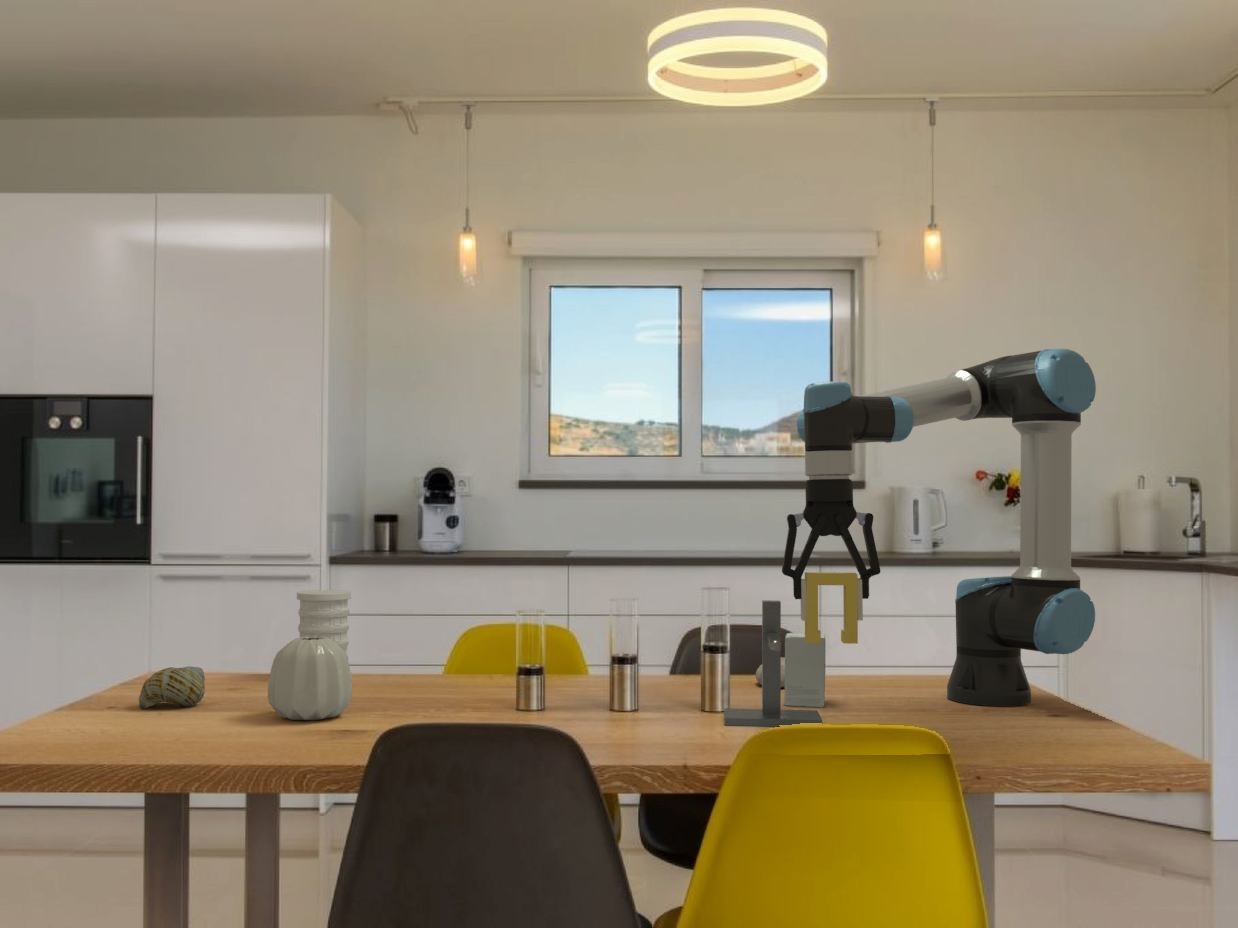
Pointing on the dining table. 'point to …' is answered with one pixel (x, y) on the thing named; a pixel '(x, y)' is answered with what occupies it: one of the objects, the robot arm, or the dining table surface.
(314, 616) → the decorative container
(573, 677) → the dining table surface
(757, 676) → the stone
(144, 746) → the dining table surface
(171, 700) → the seashell
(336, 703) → the vase
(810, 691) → the supplement box
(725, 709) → the stand
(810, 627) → the c link
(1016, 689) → the robot arm
